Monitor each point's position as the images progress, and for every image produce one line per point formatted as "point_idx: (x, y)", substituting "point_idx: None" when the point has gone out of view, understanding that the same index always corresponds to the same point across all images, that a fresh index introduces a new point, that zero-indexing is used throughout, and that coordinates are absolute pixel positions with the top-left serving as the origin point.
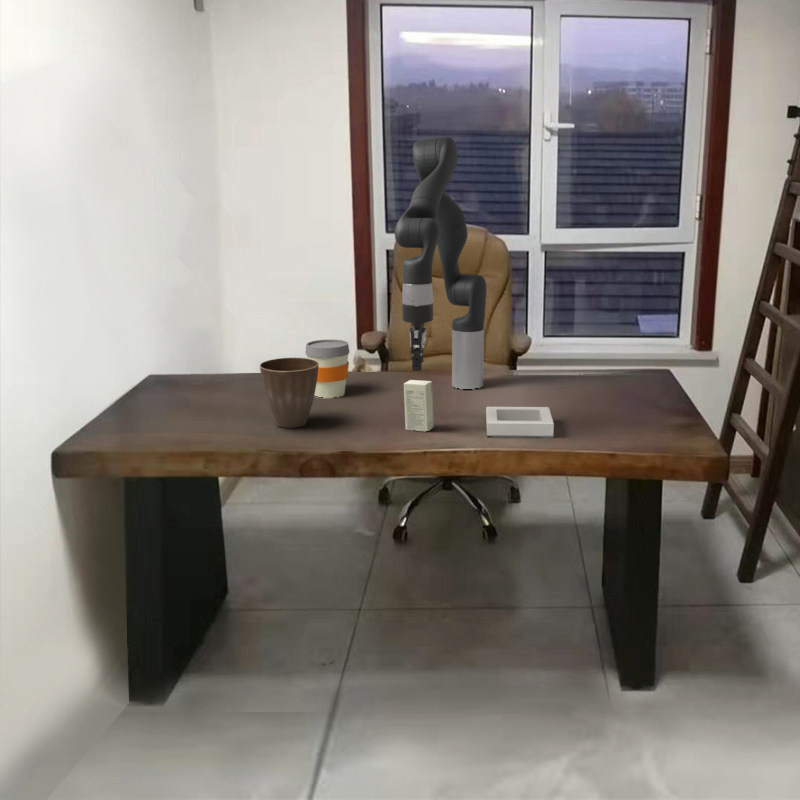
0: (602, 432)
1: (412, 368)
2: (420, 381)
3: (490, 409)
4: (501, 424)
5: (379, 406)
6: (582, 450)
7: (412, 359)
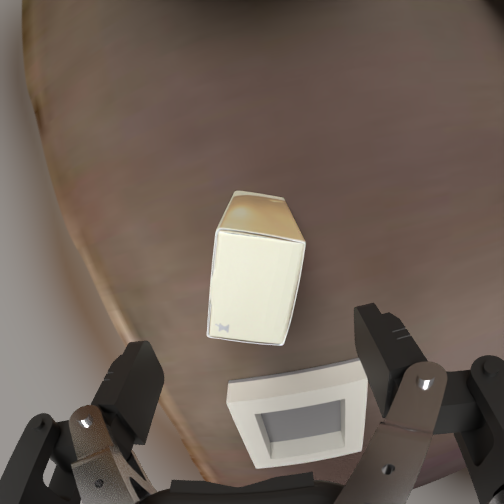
0: None
1: (127, 346)
2: (265, 303)
3: (344, 390)
4: (234, 419)
5: (442, 69)
6: (208, 469)
7: (106, 386)
